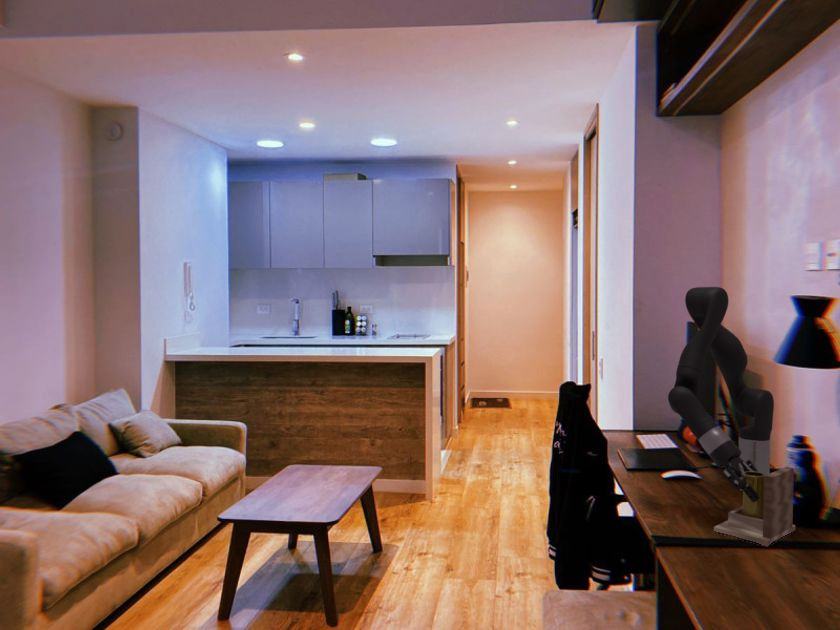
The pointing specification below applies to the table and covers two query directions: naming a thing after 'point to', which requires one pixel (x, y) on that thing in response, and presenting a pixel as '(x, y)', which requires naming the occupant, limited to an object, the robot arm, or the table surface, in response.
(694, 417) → the robot arm
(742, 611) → the table surface
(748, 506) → the vase
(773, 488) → the post stand
